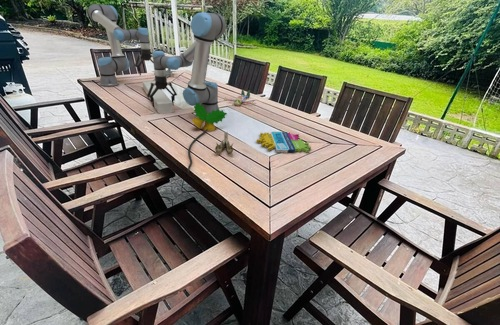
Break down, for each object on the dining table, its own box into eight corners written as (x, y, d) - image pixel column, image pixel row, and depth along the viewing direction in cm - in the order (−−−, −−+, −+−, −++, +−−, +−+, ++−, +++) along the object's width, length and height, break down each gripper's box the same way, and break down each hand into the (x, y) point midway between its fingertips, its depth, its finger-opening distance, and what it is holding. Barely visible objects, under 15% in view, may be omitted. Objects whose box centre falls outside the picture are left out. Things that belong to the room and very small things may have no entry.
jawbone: (234, 135, 144) (233, 125, 135) (233, 160, 138) (232, 151, 129) (217, 135, 144) (216, 125, 135) (216, 160, 138) (214, 150, 129)
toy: (261, 91, 228) (254, 99, 202) (261, 99, 231) (253, 108, 205) (231, 87, 233) (220, 95, 207) (230, 95, 236) (219, 104, 210)
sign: (313, 150, 142) (258, 149, 139) (312, 153, 143) (258, 152, 140) (301, 132, 164) (254, 130, 161) (301, 134, 165) (254, 133, 162)
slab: (173, 112, 187) (172, 102, 184) (158, 113, 183) (157, 104, 179) (155, 87, 242) (154, 80, 239) (143, 88, 238) (142, 80, 234)
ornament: (218, 133, 171) (224, 110, 169) (221, 134, 163) (227, 111, 161) (186, 125, 162) (192, 101, 160) (189, 126, 155) (195, 101, 153)
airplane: (147, 74, 291) (145, 64, 286) (175, 72, 304) (174, 63, 299) (153, 82, 263) (151, 72, 257) (184, 80, 276) (183, 70, 271)
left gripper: (160, 48, 226) (162, 73, 236) (128, 47, 215) (132, 74, 225) (161, 49, 220) (164, 75, 230) (129, 49, 209) (133, 76, 220)
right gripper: (177, 74, 187) (179, 102, 198) (140, 74, 176) (144, 105, 187) (180, 76, 181) (181, 105, 192) (142, 77, 171) (146, 108, 181)
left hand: (148, 75), depth 228 cm, fingers open, 13 cm apart
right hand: (163, 105), depth 189 cm, fingers open, 13 cm apart
